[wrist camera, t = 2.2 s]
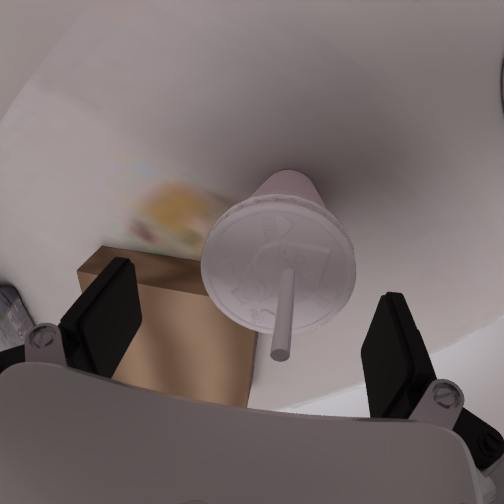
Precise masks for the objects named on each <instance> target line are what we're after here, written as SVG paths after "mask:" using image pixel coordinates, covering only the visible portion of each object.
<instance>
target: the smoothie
mask: <svg viewBox="0 0 504 504" xmlns="http://www.w3.org/2000/svg"><path fill="white" fill-rule="evenodd" d="M201 275H202V280H203V283H204V286H205V288H206V291H207V293H208V295H209V296H210V298H211V299H212V301H213V302H214V304H215V305H216V306H217V307H218V308H219V309H220V310H221V311H222V312H223V313H224V314H225V315H226V316H228V317H229V318H230V319H232V320H233V321H235V322H236V323H238V324H240V325H242V326H244V327H246V328H249V329H251V330H254V331H258V332H262V333H267V334H273V339H272V346H271V353H270V356H271V358H272V359H273V360H275V361H279V362H282V361H286V360H288V359H289V357H290V347H291V335H292V334H298V333H302V332H306V331H310V330H312V329H315V328H317V327H319V326H321V325H323V324H325V323H327V322H328V321H330V320H331V319H332V318H334V317H335V316H336V315H337V314H338V313H339V312H340V311H341V310H342V309H343V307H344V306H345V305H346V303H347V302H348V300H349V298H350V296H351V294H352V292H353V289H354V285H355V280H356V264H355V258H354V248H353V245H352V243H351V240H350V238H349V236H348V233H347V231H346V229H345V228H344V227H343V226H342V225H341V223H340V222H339V221H338V220H337V218H336V217H335V216H334V215H333V214H332V213H330V212H329V211H328V210H327V208H326V207H325V205H324V203H323V201H322V199H321V197H320V195H319V194H318V192H317V190H316V188H315V186H314V185H313V183H312V181H311V180H310V179H309V178H308V177H307V176H305V175H304V174H302V173H300V172H298V171H294V170H282V171H279V172H276V173H274V174H273V175H271V176H270V177H269V178H268V179H267V180H266V181H265V182H264V183H263V184H262V185H261V186H260V187H259V188H258V189H257V190H256V191H255V192H254V193H253V194H252V195H251V196H250V197H249V198H248V199H246V200H244V201H242V202H240V203H238V204H236V205H234V206H232V207H231V208H230V209H229V210H227V211H226V212H225V213H224V214H223V215H222V216H221V217H220V218H218V220H217V221H216V223H215V225H214V226H213V228H212V229H211V231H210V233H209V234H208V238H207V241H206V243H205V245H204V248H203V252H202V256H201Z"/></svg>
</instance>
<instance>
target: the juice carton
mask: <svg viewBox="0 0 504 504" xmlns="http://www.w3.org/2000/svg"><path fill="white" fill-rule="evenodd" d="M33 327H34V325H33V323H32V321H31V319H30V317H29V316H28V314H27V312H26V310H25V308H24V306H23V304H22V302H21V300H20V297H19V295H18V293H17V291H16V290H15V288H13V287H8V286H0V352H1V351H4V350H7V349H10V348H13V347H16V346H20V345H23V344H25V342H24V341H25V336H26V334H27V332H28V331H29V330H30V329H31V328H33Z"/></svg>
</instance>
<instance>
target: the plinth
mask: <svg viewBox="0 0 504 504" xmlns="http://www.w3.org/2000/svg"><path fill="white" fill-rule="evenodd" d="M114 257H123V258H129V259H130V260H131V263H134V265H135V271H136V279H137V286H138V293H139V299H140V306H141V312H142V323H141V326H140V328H139V329H138V331H137V333H136V335H135V336H134V338H133V340H132V342H131V344H130V345H129V347H128V349H127V351H126V353H125V354H124V356H123V358H122V360H121V362H120V363H119V365H118V367H117V369H116V371H115V373H114V375H113V376H112V378H111V379H113V380H117V381H120V382H124V383H128V384H131V385H135V386H139V387H143V388H147V389H151V390H155V391H159V392H164V393H168V394H173V395H177V396H182V397H187V398H192V399H197V400H202V401H208V402H213V403H219V404H225V405H231V406H238V407H244V408H247V404H248V399H249V394H250V389H251V384H252V377H253V369H254V361H255V353H256V345H257V336H258V331H254V330H251V329H249V328H246V327H244V326H242V325H240V324H238V323H236V322H235V321H233V320H232V319H230V318H229V317H228V316H226V315H225V314H224V313H223V312H222V311H221V310H220V309H219V308H218V307H217V306H216V305H215V304H214V302H213V301H212V299H211V298H210V296H209V295H208V293H207V291H206V288H205V286H204V283H203V280H202V275H201V262H200V261H194V260H187V259H180V258H174V257H167V256H161V255H155V254H148V253H142V252H136V251H129V250H123V249H117V248H111V247H104V246H101V247H100V248H99V249H98V250H97V251H96V252H95V253H94V254H93V255H92V256H91V257H90V258H89V259H88V260H87V261H86V262H85V263H84V264H83V265H82V266H81V267H80V268H79V269H78V270H77V275H78V279H79V283H80V287H81V290H82V293H83V292H84V291H85V290H86V289H87V287H88V286H89V285H90V284H91V283H92V282H93V281H94V279H95V278H96V277H97V276H98V275H99V274H100V273H101V272H102V270H103V269H104V268H105V267H106V266H107V265H108V264H109V263H110V262H111V260H112V259H113V258H114Z"/></svg>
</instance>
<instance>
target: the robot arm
mask: <svg viewBox="0 0 504 504" xmlns="http://www.w3.org/2000/svg"><path fill="white" fill-rule="evenodd" d="M503 100H504V69H503ZM60 321H61V322H60V324H59V325H58V326H56V325H54V324H52V323H41V324H38V325H36V326H34V327H33V328H31V329H30V330H29V331H28V332H27V334H26V336H25V341H24V342H25V344H23V345H20V346H16V347H13V348H10V349H7V350H4V351H1V352H0V504H504V439H503V437H502V436H501V434H500V433H499V432H498V431H497V430H496V429H494V428H493V427H491V426H490V425H488V424H487V423H485V422H484V421H483V420H481V419H480V418H478V417H477V416H475V415H474V414H472V413H471V412H469V411H468V410H466V409H465V408H464V407H463V405H464V395H463V392H462V390H461V389H460V388H459V387H458V385H456V384H455V383H454V382H452V381H449V380H446V379H437V377H436V375H435V372H434V369H433V366H432V363H431V360H430V358H429V355H428V352H427V349H426V347H425V344H424V342H423V339H422V336H421V334H420V332H419V330H418V329H417V327H416V325H415V322H414V320H413V317H412V315H411V312H410V310H409V308H408V305H407V303H406V300H405V298H404V296H403V294H402V293H396V292H387V293H386V295H382V296H381V298H380V301H379V303H378V306H377V309H376V312H375V314H374V317H373V320H372V322H371V325H370V328H369V330H368V333H367V335H366V338H365V340H364V343H363V345H362V348H361V359H362V365H363V371H364V377H365V383H366V389H367V396H368V403H369V410H370V418H364V417H363V418H362V417H339V416H321V415H307V414H295V413H285V412H276V411H267V410H259V409H252V408H244V407H238V406H231V405H225V404H219V403H213V402H208V401H202V400H197V399H192V398H187V397H182V396H177V395H173V394H168V393H164V392H159V391H155V390H151V389H147V388H143V387H139V386H135V385H131V384H128V383H124V382H120V381H117V380H113V379H111V378H112V376H113V375H114V373H115V371H116V369H117V367H118V365H119V363H120V362H121V360H122V358H123V356H124V354H125V353H126V351H127V349H128V347H129V345H130V344H131V342H132V340H133V338H134V336H135V335H136V333H137V331H138V329H139V328H140V326H141V323H142V312H141V306H140V299H139V293H138V286H137V279H136V271H135V265H134V263H131V260H130V259H129V258H123V257H114V258H113V259H112V260H111V262H110V263H109V264H108V265H107V266H106V267H105V268H104V269H103V270H102V272H101V273H100V274H99V275H98V276H97V277H96V278H95V279H94V281H93V282H92V283H91V284H90V285H89V286H88V287H87V289H86V290H85V291H84V292H83V293H82V294H81V296H80V297H79V298H78V299H77V300H76V302H75V303H74V304H73V305H72V306H71V308H70V309H69V310H68V311H67V312H66V314H65V315H64V316H63V317H62V318H61V320H60Z"/></svg>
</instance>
